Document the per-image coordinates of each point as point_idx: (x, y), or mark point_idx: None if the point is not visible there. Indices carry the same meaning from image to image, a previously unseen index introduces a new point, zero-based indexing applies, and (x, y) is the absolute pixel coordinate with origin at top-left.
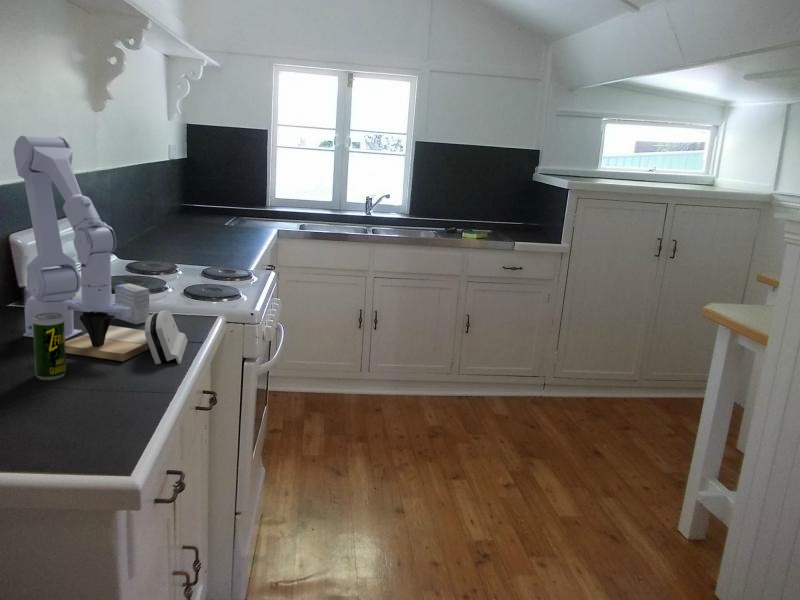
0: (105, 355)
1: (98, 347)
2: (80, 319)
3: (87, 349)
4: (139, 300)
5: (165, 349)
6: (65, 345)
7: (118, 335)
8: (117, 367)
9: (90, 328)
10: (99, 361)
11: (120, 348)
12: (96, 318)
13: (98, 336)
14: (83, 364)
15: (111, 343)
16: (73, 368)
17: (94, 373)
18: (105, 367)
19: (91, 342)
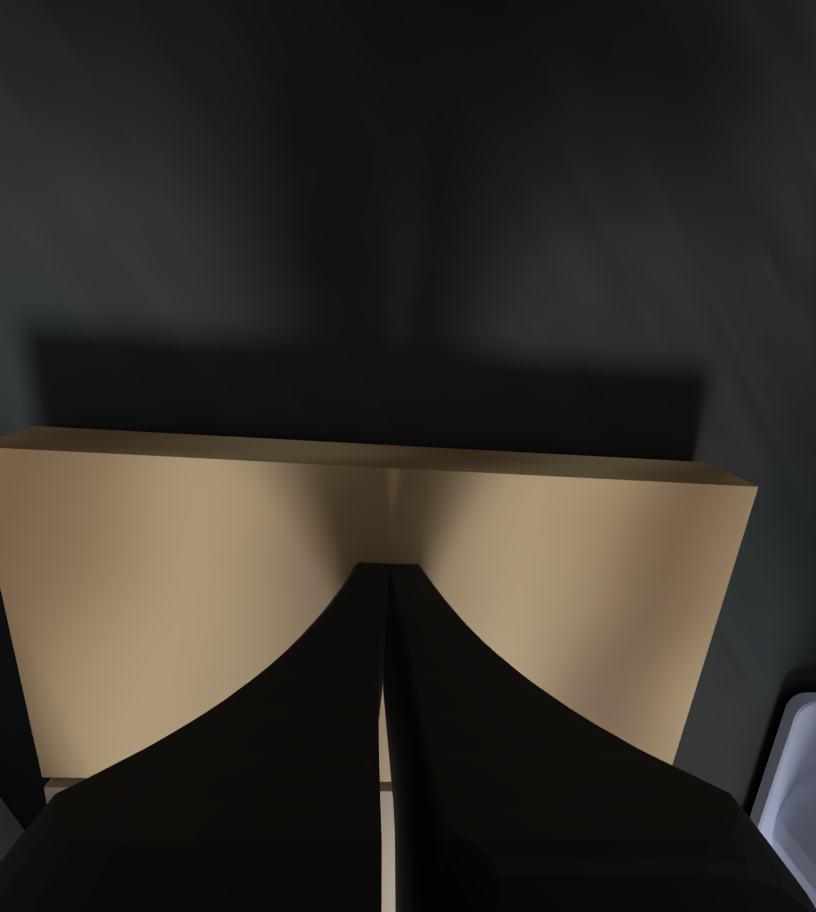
0: (212, 445)
1: (339, 547)
2: (713, 797)
3: (414, 467)
4: None
5: None
6: (671, 480)
7: (387, 886)
8: (6, 291)
9: (431, 677)
10: (260, 389)
11: (134, 602)
12: (82, 905)
13: (318, 619)
14: (342, 261)
15: None
16: (363, 113)
17: (82, 32)
18: (105, 252)
19: (427, 577)
